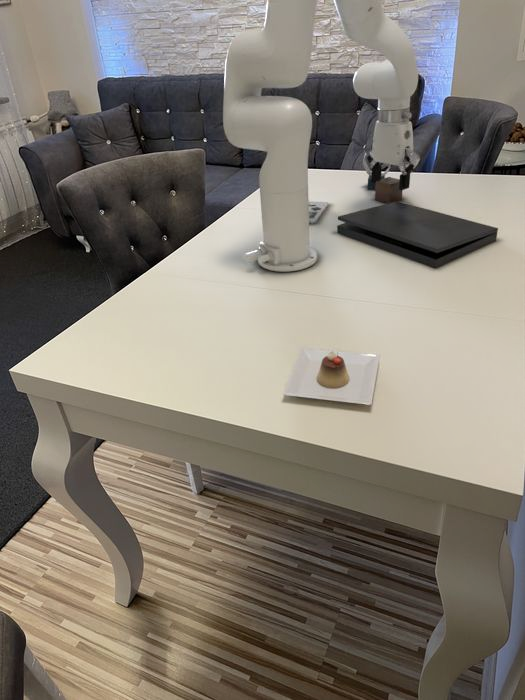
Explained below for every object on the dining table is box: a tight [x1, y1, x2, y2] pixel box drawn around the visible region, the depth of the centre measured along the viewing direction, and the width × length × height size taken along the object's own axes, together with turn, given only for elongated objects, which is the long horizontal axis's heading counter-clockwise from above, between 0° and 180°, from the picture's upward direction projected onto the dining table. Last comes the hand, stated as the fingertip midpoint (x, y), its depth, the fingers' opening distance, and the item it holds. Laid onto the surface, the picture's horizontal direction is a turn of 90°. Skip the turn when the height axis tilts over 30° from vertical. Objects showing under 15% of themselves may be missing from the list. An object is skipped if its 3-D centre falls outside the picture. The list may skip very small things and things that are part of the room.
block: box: [374, 176, 404, 204], centre depth 141 cm, size 5×5×5 cm
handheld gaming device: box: [308, 200, 329, 225], centre depth 137 cm, size 9×1×15 cm
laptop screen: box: [336, 200, 499, 253], centre depth 118 cm, size 20×28×1 cm
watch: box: [362, 152, 392, 191], centre depth 149 cm, size 6×8×11 cm
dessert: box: [281, 347, 381, 406], centre depth 75 cm, size 12×12×5 cm
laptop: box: [336, 222, 498, 269], centre depth 119 cm, size 20×28×2 cm
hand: (389, 185), depth 140 cm, fingers open, 9 cm apart
